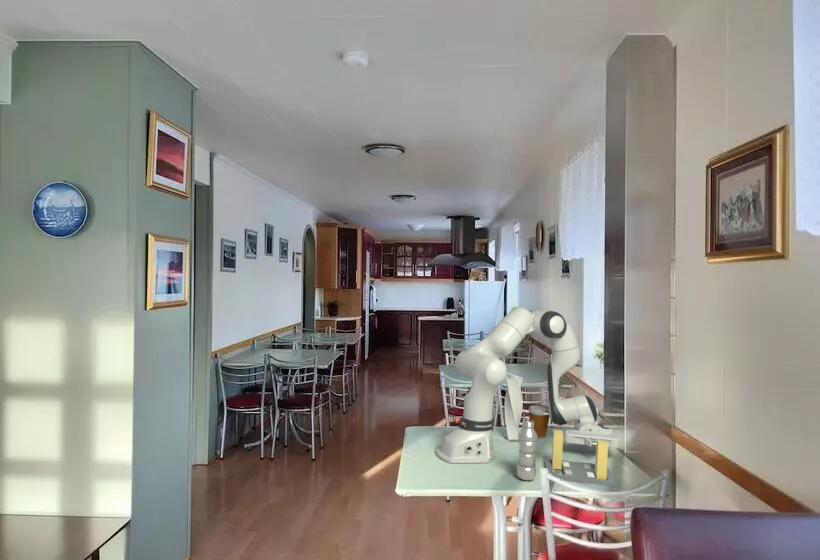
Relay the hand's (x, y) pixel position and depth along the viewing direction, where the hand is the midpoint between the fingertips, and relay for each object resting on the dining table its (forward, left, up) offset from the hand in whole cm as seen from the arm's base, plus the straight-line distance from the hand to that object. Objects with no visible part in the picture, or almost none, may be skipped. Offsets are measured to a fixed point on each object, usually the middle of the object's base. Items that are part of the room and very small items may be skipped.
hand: (594, 445), depth 197 cm
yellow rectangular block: (-15, +1, -7) cm, 17 cm away
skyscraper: (-14, +34, -8) cm, 38 cm away
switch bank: (-11, -6, -7) cm, 15 cm away
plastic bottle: (-32, -6, -8) cm, 34 cm away
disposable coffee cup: (0, +36, -8) cm, 37 cm away
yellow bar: (-7, -13, -7) cm, 17 cm away
